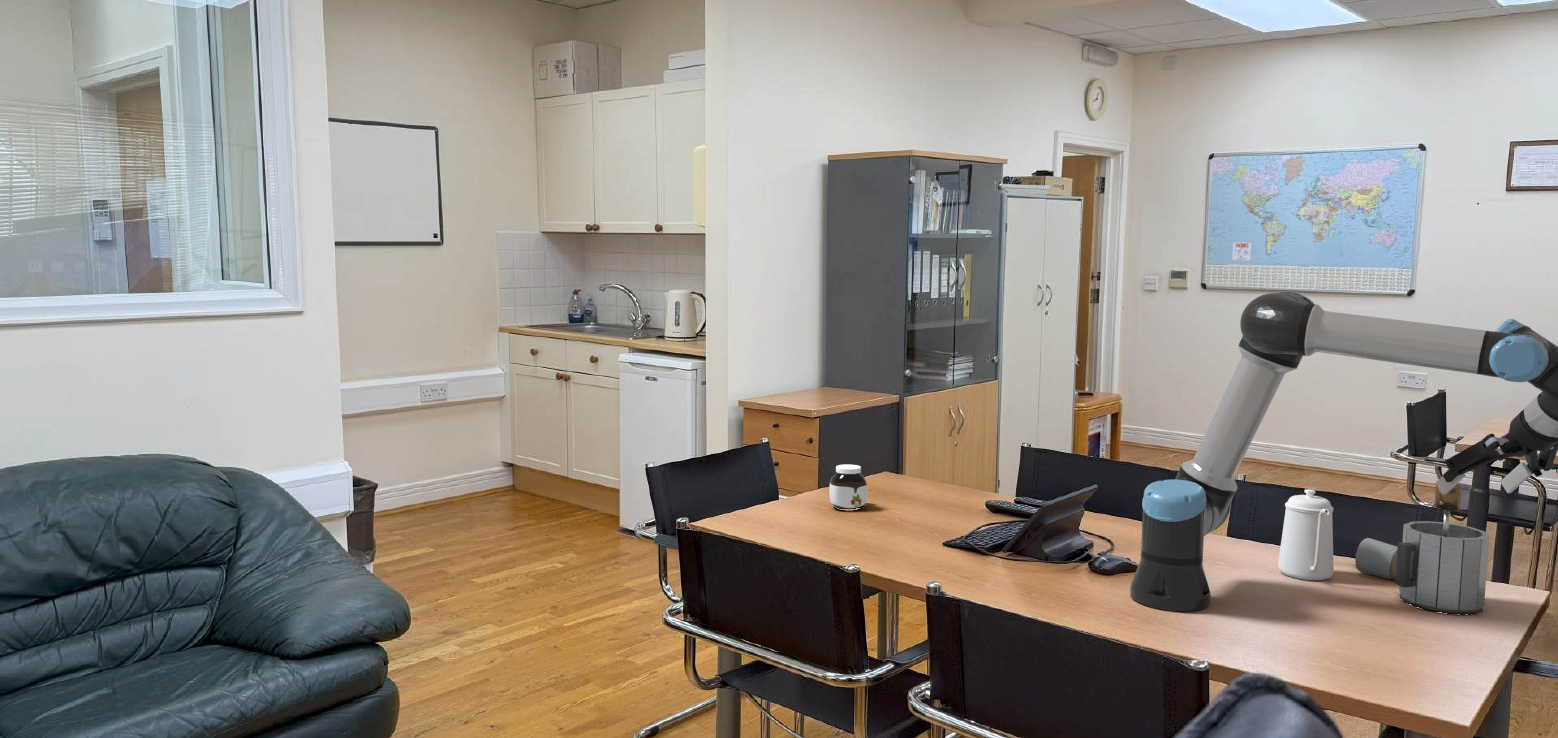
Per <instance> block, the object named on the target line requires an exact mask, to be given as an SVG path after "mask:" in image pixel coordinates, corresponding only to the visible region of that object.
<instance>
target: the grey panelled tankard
mask: <svg viewBox="0 0 1558 738" xmlns="http://www.w3.org/2000/svg"><path fill="white" fill-rule="evenodd" d="M1402 530H1403V531H1402V542H1397V547H1398V548H1397V563H1396V578H1395V580H1394V583H1395V585H1397V586H1398V587H1399V590H1398V592H1399V600H1400V599H1402V600H1403V601H1404V602H1405V603H1404V602H1403V603H1404V604H1406V603H1408V604H1411V605H1412V606H1414V607H1413V608H1415V607H1419V608H1422V609H1424V610H1423V611H1426V610H1427V611H1426V612H1430V611H1431V613H1435V612H1442V613H1447V614H1446V615H1449V614H1460V615H1459V616H1466V615H1465V614H1468V615H1467V616H1472V615H1471V614H1475V615H1477V614H1476V613H1479V612H1481V613H1482V612H1483V609H1484V607H1485V598H1486V588H1487V587H1486V584H1487V573H1488V571H1487V570H1488V562H1489V561H1488V558H1489V545H1490V535H1489V533H1488V532H1486V531H1485V530H1480V529H1478V528H1475V527H1472V526H1467V525H1464V524H1463V525H1462V524H1457V523H1450V522H1449V533H1448V537H1442V533H1443V521H1442V522H1441V521H1440V522H1438V521H1430V520H1429V521H1426V520H1425V521H1424V520H1423V521H1421V520H1420V521H1410V522H1407V523H1404V524H1403V529H1402ZM1408 604H1407V605H1408ZM1412 606H1411V607H1412ZM1422 609H1421V610H1422ZM1479 614H1480V613H1479Z"/></svg>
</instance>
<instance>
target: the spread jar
mask: <svg viewBox="0 0 1558 738" xmlns="http://www.w3.org/2000/svg"><path fill="white" fill-rule="evenodd" d="M828 491H829V493H828V494H829V495H828V496H829V502H830V504H831V506H832V507H833V508H834V507H835V508H839V509H856V508H861V509H863V508H864V507H865V506H866V504H867V502H868V501H867V500H868V495H869V489H868V483H867V480H866V478H865V476H864V475H863V474H862V466H860V465H859V464H858V465H857V464H849V463H848V464H839V465H836V466H835V473H834V474H833V476H831V478H830V481H829V490H828ZM835 508H834V509H835Z"/></svg>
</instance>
